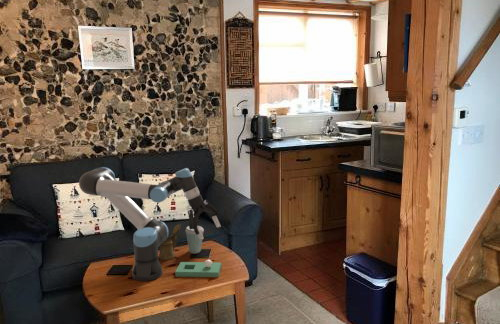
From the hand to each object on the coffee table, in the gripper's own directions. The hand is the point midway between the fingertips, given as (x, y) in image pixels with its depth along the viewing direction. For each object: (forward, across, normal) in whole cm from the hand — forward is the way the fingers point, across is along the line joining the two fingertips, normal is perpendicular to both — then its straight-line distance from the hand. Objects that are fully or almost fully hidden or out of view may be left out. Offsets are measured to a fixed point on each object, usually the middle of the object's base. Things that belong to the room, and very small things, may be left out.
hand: (210, 232), depth 217 cm
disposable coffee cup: (+12, +6, +27) cm, 30 cm away
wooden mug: (+7, -7, +33) cm, 35 cm away
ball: (+13, -8, +2) cm, 16 cm away
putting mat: (+15, -12, +7) cm, 21 cm away
